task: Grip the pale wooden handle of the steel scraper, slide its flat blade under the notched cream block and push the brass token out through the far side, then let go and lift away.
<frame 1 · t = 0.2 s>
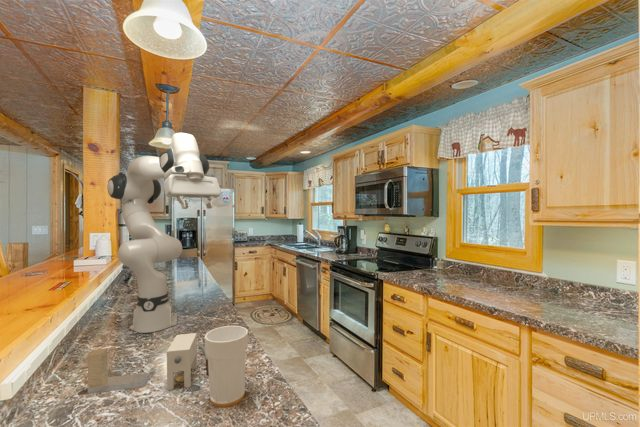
hand: (198, 208, 110), 52 cm above the countertop, tool tilted 20°, fingers open, 8 cm apart
brass token: (183, 378, 93), on the countertop
cup: (227, 397, 83), on the countertop
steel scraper: (98, 388, 88), on the countertop
kitchen cleaver: (214, 358, 106), on the countertop
notched cream block: (183, 377, 93), on the countertop
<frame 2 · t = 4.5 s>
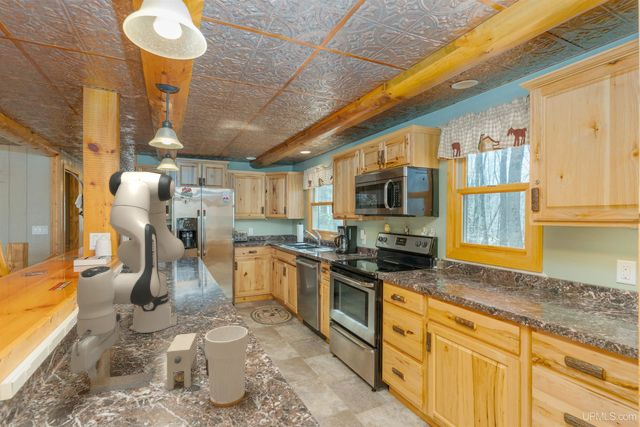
hand: (97, 371, 88), 5 cm above the countertop, tool pointing down, fingers closed on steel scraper, 4 cm apart
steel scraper: (100, 388, 88), on the countertop, touching gripper
everything else where it was.
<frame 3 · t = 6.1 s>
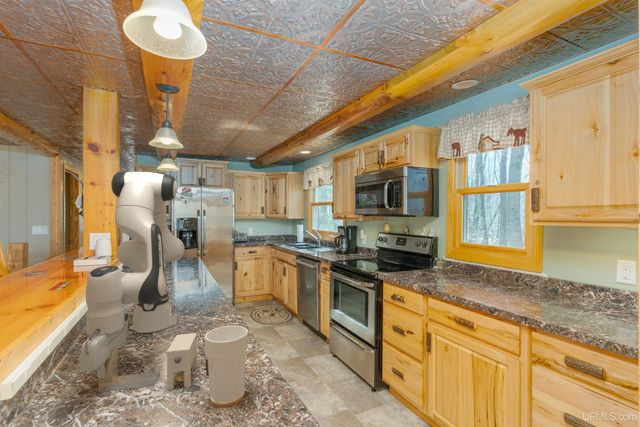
hand: (106, 371, 88), 5 cm above the countertop, tool pointing down, fingers closed on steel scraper, 3 cm apart
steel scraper: (108, 386, 88), on the countertop, touching gripper
everything else where it was.
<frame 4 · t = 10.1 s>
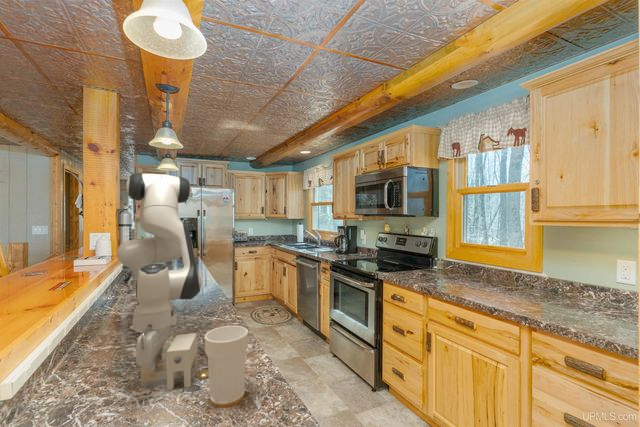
hand: (155, 365, 91), 5 cm above the countertop, tool pointing down, fingers closed on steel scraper, 3 cm apart
brass token: (203, 375, 94), on the countertop, touching kitchen cleaver, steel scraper
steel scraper: (149, 381, 91), on the countertop, touching brass token, gripper
kitchen cleaver: (216, 358, 106), on the countertop, touching brass token
everything else where it was.
when the fingers open (5 cm above the countertop, at t = 11.7 s): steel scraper stays where it is, on the countertop.
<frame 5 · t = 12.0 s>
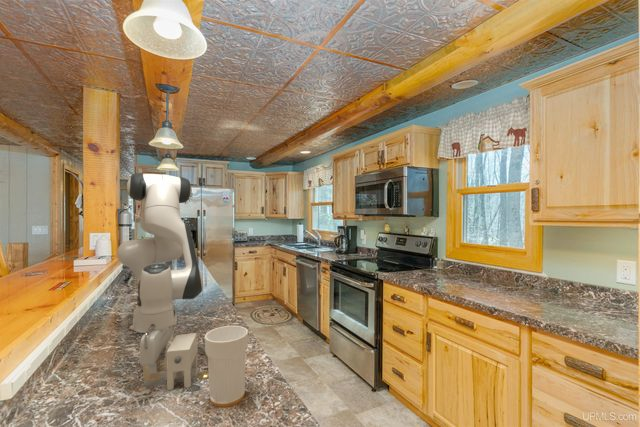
hand: (158, 365, 91), 5 cm above the countertop, tool pointing down, fingers open, 6 cm apart
brass token: (205, 376, 94), on the countertop
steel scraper: (151, 381, 91), on the countertop
kitchen cleaver: (216, 358, 106), on the countertop
everything else where it was.
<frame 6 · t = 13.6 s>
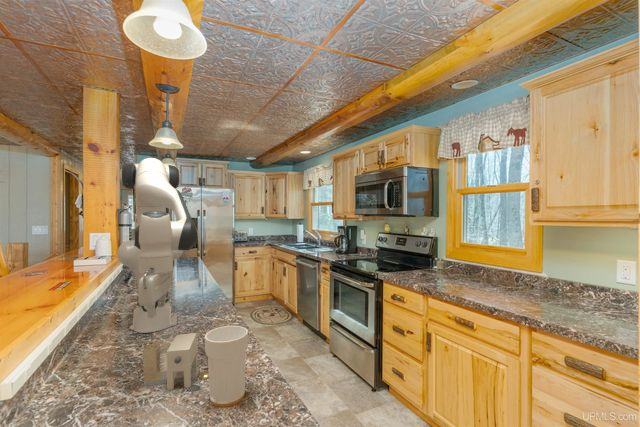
hand: (157, 311, 91), 21 cm above the countertop, tool pointing down, fingers open, 8 cm apart
nothing on the countertop moved.
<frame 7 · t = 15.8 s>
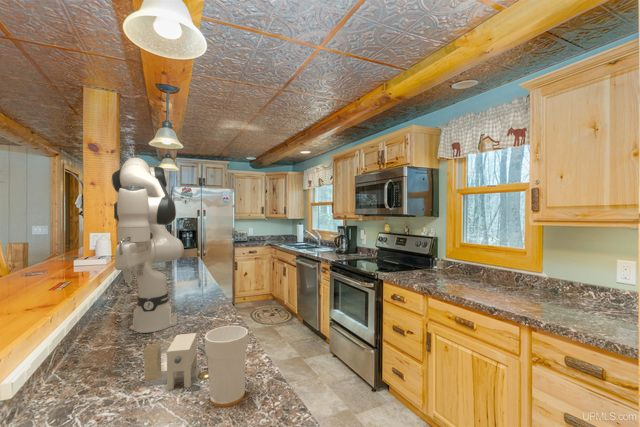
hand: (134, 279, 98), 29 cm above the countertop, tool pointing down, fingers open, 8 cm apart
nothing on the countertop moved.
at the end: brass token inside the target area (6.0 cm from its centre), on the countertop; the gripper is holding nothing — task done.
